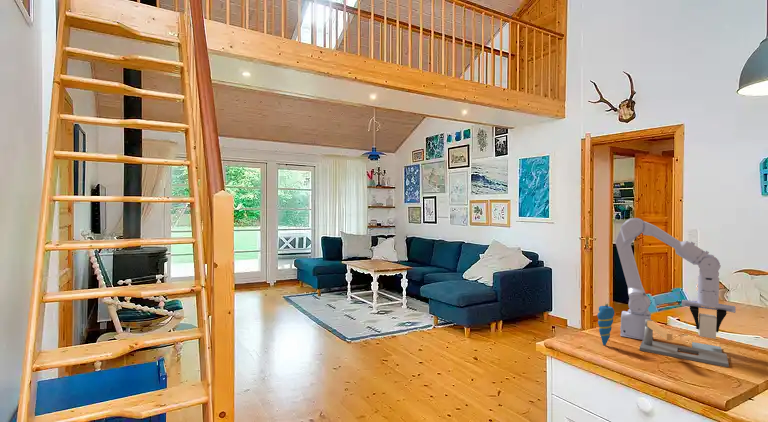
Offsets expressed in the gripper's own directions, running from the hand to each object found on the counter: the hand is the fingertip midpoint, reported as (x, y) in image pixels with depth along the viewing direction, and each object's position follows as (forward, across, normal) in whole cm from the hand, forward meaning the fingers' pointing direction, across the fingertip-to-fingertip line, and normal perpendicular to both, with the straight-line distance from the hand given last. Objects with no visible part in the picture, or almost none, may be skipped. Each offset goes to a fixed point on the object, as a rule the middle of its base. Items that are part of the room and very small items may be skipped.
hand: (707, 330), depth 144 cm
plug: (+2, 0, 0) cm, 2 cm away
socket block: (+6, +6, +12) cm, 15 cm away
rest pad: (+6, 0, 0) cm, 6 cm away
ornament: (+7, +28, +20) cm, 35 cm away
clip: (-1, +13, +19) cm, 23 cm away
